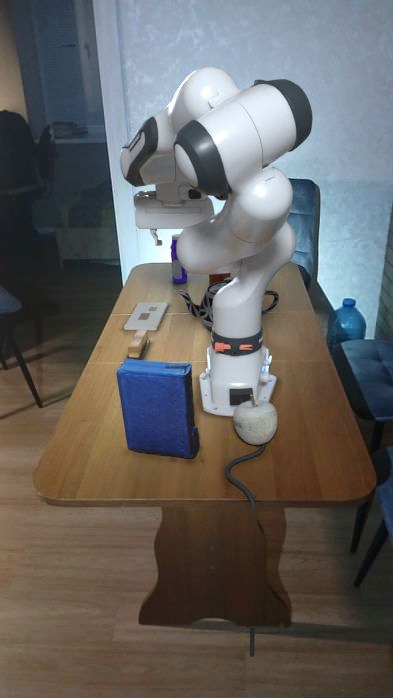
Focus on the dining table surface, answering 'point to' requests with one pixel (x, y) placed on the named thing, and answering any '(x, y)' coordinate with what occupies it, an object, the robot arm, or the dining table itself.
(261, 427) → the decorative object
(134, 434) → the book
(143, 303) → the tile
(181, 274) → the bottle
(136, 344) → the brush
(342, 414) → the dining table surface
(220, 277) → the mug
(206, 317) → the teapot
